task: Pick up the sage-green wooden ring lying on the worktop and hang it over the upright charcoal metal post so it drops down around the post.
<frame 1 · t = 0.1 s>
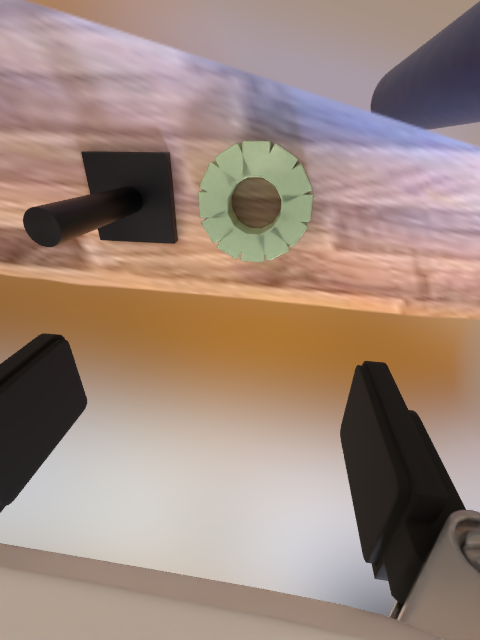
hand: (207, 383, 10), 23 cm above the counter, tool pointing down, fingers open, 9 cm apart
ring: (256, 202, 28), on the counter
post: (134, 198, 30), on the counter
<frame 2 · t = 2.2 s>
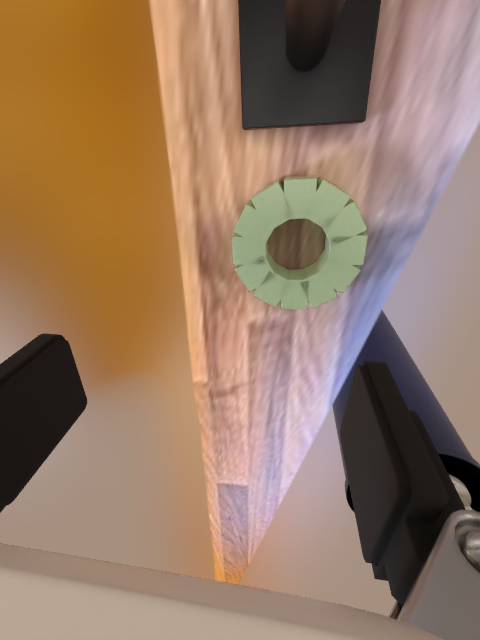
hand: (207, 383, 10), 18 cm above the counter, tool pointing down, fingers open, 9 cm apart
ring: (296, 242, 25), on the counter
post: (305, 51, 19), on the counter
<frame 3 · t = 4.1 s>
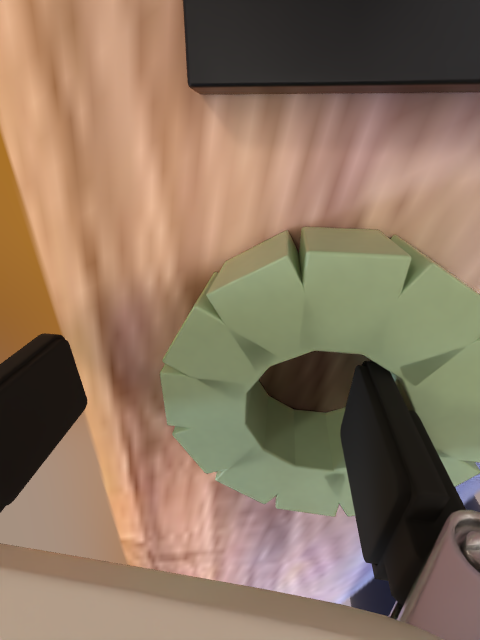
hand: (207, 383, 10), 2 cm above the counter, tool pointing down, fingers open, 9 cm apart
ring: (317, 364, 11), on the counter, touching gripper
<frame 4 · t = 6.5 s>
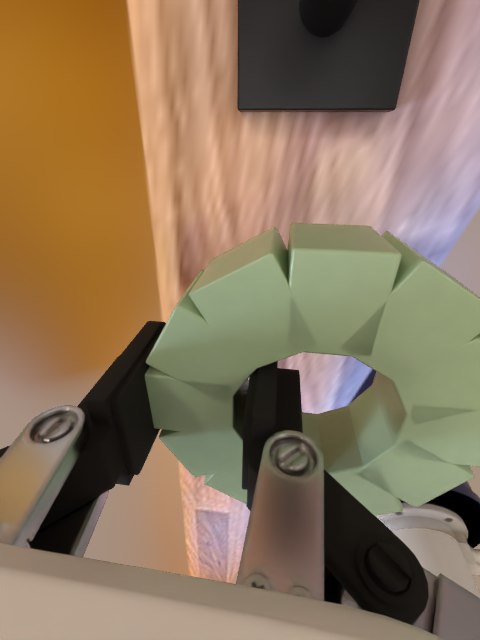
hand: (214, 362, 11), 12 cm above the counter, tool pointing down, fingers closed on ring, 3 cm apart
ring: (308, 365, 11), point 11 cm above the counter, touching gripper
post: (323, 10, 14), on the counter
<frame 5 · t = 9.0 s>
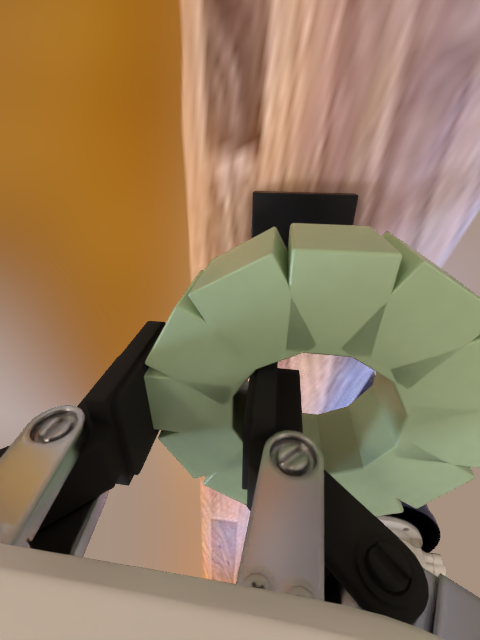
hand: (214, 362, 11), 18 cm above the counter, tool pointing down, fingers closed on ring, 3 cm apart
ring: (308, 365, 11), point 18 cm above the counter, touching gripper
post: (298, 242, 26), on the counter
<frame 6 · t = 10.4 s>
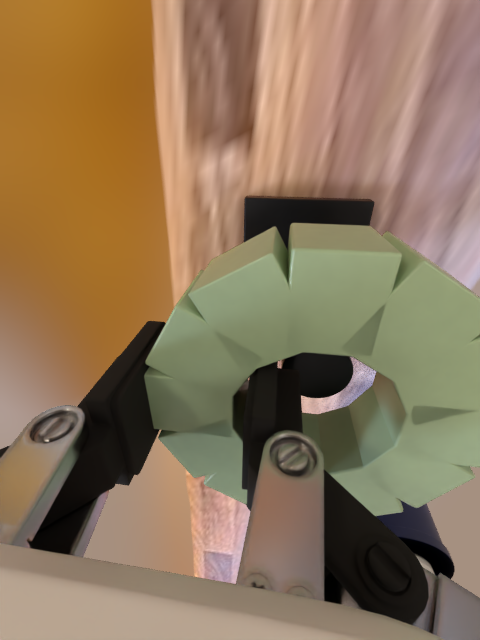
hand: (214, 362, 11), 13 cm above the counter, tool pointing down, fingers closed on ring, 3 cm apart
ring: (308, 365, 11), point 13 cm above the counter, touching gripper
post: (300, 257, 22), on the counter
when the fingers open (14 cm above the counter, at t = 13.2 s): ring drops 12 cm, resting on post.
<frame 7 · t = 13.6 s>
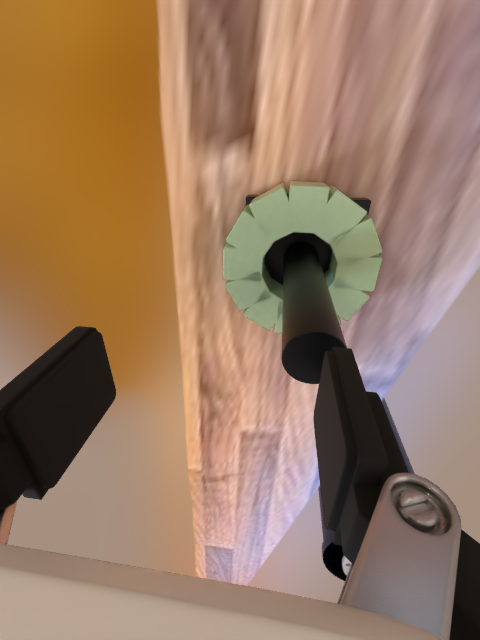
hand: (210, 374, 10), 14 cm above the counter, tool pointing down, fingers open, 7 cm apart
ring: (297, 257, 21), point 1 cm above the counter, touching post
post: (299, 254, 22), on the counter
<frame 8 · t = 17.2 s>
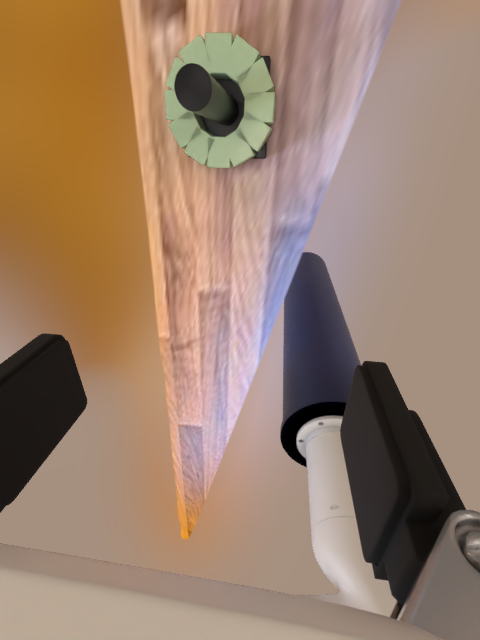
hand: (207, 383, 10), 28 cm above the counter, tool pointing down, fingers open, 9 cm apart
ring: (223, 109, 29), point 1 cm above the counter, touching post
post: (227, 111, 30), on the counter
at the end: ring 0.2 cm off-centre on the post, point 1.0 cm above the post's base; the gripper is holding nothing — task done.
